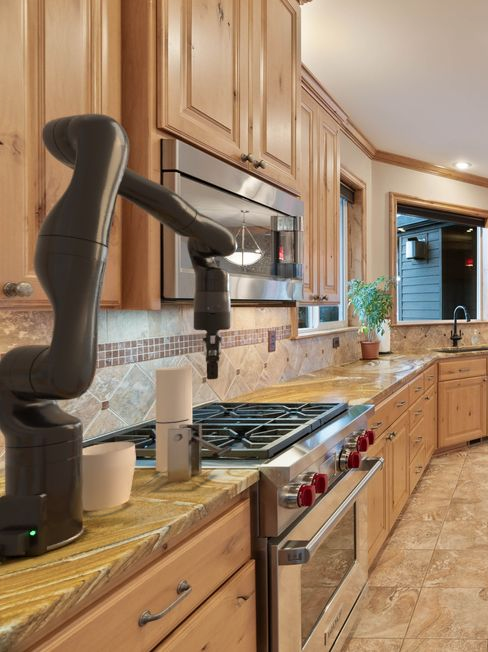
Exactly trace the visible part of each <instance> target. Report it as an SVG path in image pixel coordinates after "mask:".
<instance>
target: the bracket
mask: <svg viewBox="0 0 488 652" xmlns="http://www.w3.org/2000/svg"><path fill="white" fill-rule="evenodd" d="M184 426H186V427H188V428H181V427H184ZM191 429H192V430H194V431H196V433H195V436H197V437H199V438H201V439H203V437H202V436H203V431H202V430H203V424H202V423H192V424H181V425H179V428H174V429H168V472H167V483H189V482H190V481H192V476H200V475H202V473H203V470H202V469H203V468H202V467H203V465H202V464H203V462H202V461H203V457H202V456H203V455H202V453H203V452H202V451H203V449H202V448H203V447H202V446H200V445H198V444H196V443H194V442H192V441H191Z"/></svg>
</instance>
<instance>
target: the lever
mask: <svg viewBox="0 0 488 652" xmlns="http://www.w3.org/2000/svg"><path fill="white" fill-rule="evenodd" d="M181 428H188V427H186V426H184V427H181ZM195 433H196V431H194V430H192V429H191V441H192V442H194V443H196V444H198V445H200V446H202V448H204V449H206V450H208V451H210V452H212V455H211V457H212V459H213V460H218V459H220V458H221V457H223V456H224V455H226V454H228V453H230V452H231V451H232V447H231V446H230V445H226V446H224V447H222V448H221V447H219V446H218V445H216V444H213V443H211V442H209V441H207V440H205V439H203V438H202V439H201V438H199V437H197V436H195Z"/></svg>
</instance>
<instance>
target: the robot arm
mask: <svg viewBox="0 0 488 652" xmlns="http://www.w3.org/2000/svg"><path fill="white" fill-rule="evenodd" d="M41 139H42V142H43V145H44V147H45V148H46V150H47V151H48V153H49V154H50V155H51V156H52V157H53V158H55V159H56V160H57V161H58V162H59V163H61V164H63V165H64V166H66V167H67V168H69V169H71V170H73V172H72V176H71V179H70V181H69V183H68V185H67V187H66V189H65V190H64V192H63V194H61V196H60V197H59V199H58V200H57V201H56V202H55V203H54V205H53V206H52V208H51V209H50V210H49V212H48V213H47V215H46V216H45V218H44V219H43V220H42V222H41V224H40V227H39V229H38V233H37V238H36V242H35V243H36V244H35V248H34V254H33V260H32V261H33V262H32V264H33V265H32V267H33V271H34V274H35V276H36V278H37V279H36V280H37V281H38V283H39V285H40V287H41V289H42V291H43V293H44V294H45V296H46V298H47V299H48V302H49V304H50V306H51V310H52V314H53V326H52V334H51V339H50V340H51V341H50V344H26V345H19V346H16V347H13V348H12V349H10V350H8V351H7V352H5V354H3V355H2V357H1V358H0V432H1V434H2V435H3V439H4V495H3V494H2V495H1V496H0V562H3V561H5V560H6V558H7V557H29V556H31V557H32V556H40V555H43V554H45V553H47V552H49V551H53V550H55V549H58V548H61V547H64V546H66V545H69V544H71V543H73V542H75V541H76V540H78V539H80V538H81V537H82V536H83V535H84V530H85V529H84V525H83V524H84V521H83V520H84V510H83V448H84V435H83V434H84V431H83V430H84V426H83V421H82V420H81V419H80V418H79V417H77V416H74V415H72V414H70V413H68V412H66V411H65V410H63V409H62V407H60V405H58V401H69V400H70V401H71V400H75V399H78V398H81V396H83V395H85V393H87V392H88V391H89V389H90V388H91V386H92V384H93V382H94V380H95V376H96V372H97V367H98V348H99V347H98V344H99V343H98V342H99V341H98V340H99V316H100V315H99V314H100V307H101V299H102V298H101V297H102V289H103V283H104V277H105V273H106V269H107V268H106V267H107V262H108V256H109V249H110V239H111V231H112V228H113V227H112V226H113V220H114V215H115V210H116V204H117V199H118V196H120V197H121V198H122V199H125V200H126V201H128V202H129V203H132V204H133V205H135V206H136V207H138V208H139V209H141V210H142V211H144V212H145V213H147V214H148V215H149V216H151V217H152V218H154V219H155V220H156V221H158V222H159V223H160V224H162V225H163V226H164V227H166V228H167V229H168V230H170V231H171V232H172V233H174V234H175V235H177V236H180V237H183V238H187V240H186V248H187V251H188V252H187V253H188V256H189V260H190V263H191V266H192V269H193V273H194V290H195V291H194V297H193V330H195V331H205V332H206V333H205V337H202V346H203V356H205V363H206V379H207V380H217V379H218V378H219V363H220V359H221V358H220V355H221V354H222V345H223V337H222V336H220V335H219V331H225V330H226V331H227V330H228V331H229V330H230V329H231V295H230V273H229V272H230V271H228V269H227V268H224V267H220V266H218V265H217V262H216V260H215V258H226V257H230V256H232V255H233V254H235V252H236V251H237V249H238V240H237V238H236V236H235V234H234V233H233V232H232V231H231V229H230V228H228V227H227V226H225V224H222V223H220V222H219V221H217V220H215V219H213V218H211V217H209V216H208V215H205V214H203V213H201V212H200V211H199V210H197V209H196V208H195V207H194V206H193V205H192V204H191V203H189V202H188V201H187V200H186V199H185V198H183V197H182V196H181V195H179V194H178V193H177V192H175V191H173V190H171V189H170V188H168V187H166V186H164V185H162V184H160V183H158V182H155V181H154V180H152V179H149V178H147V177H145V176H143V175H141V174H139V173H137V172H135V171H133V170H132V169H131V168H129V167H127V166H128V161H129V159H130V157H129V156H130V150H131V149H130V140H129V137H128V133H127V132H126V130H125V129H124V127H123V126H122V125H121V124H120V122H119V121H117V119H115V118H113V117H112V116H109V115H107V114H102V113H82V114H75V115H67V116H62V117H57V118H54V119H53V118H52V119H51V120H49V121H47V122H46V123H45V124H44V125H43V127H42V129H41Z"/></svg>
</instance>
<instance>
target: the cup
mask: <svg viewBox="0 0 488 652" xmlns="http://www.w3.org/2000/svg"><path fill="white" fill-rule="evenodd" d="M136 462H137V455H136V444H135V442H132V441H114V442H105V443H99V444H94V445H90V446H86V447H83V511H87V512H90V511H93V512H94V511H102V510H106V509H107V510H108V509H111V508H115V507H118V506H121V505H123V504H125V503H127V502H128V501H129V500H130V498H131V497H130V496H131V491H132V485H133V479H134V473H135V468H136Z"/></svg>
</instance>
